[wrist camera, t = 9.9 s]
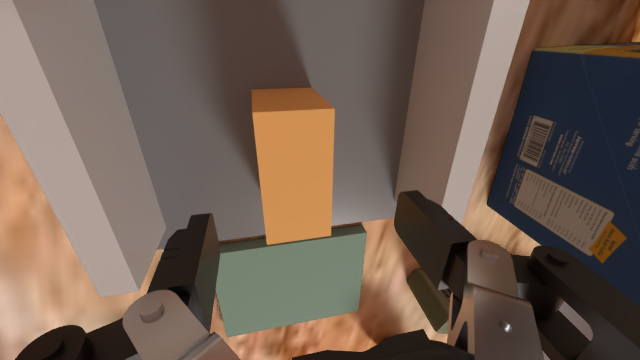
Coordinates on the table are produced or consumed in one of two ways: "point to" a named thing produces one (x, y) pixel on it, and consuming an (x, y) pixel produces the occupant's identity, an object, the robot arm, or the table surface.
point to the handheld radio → (431, 300)
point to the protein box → (578, 158)
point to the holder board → (241, 108)
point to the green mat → (289, 280)
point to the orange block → (294, 162)
